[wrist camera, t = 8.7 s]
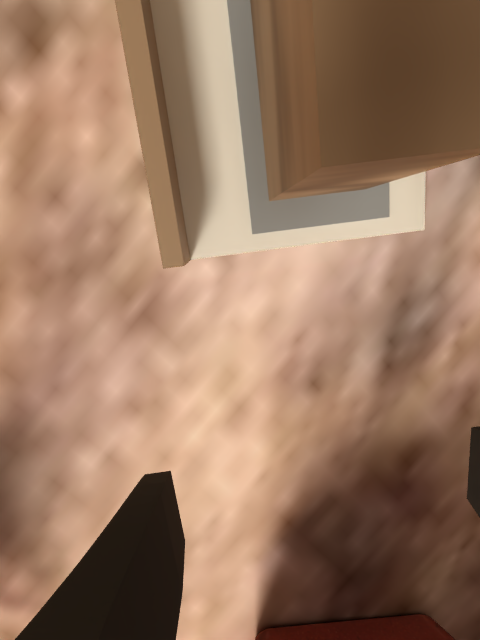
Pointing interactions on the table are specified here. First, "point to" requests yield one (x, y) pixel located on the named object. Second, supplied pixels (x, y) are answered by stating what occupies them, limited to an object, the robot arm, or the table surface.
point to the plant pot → (363, 630)
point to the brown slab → (364, 90)
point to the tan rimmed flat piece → (228, 142)
